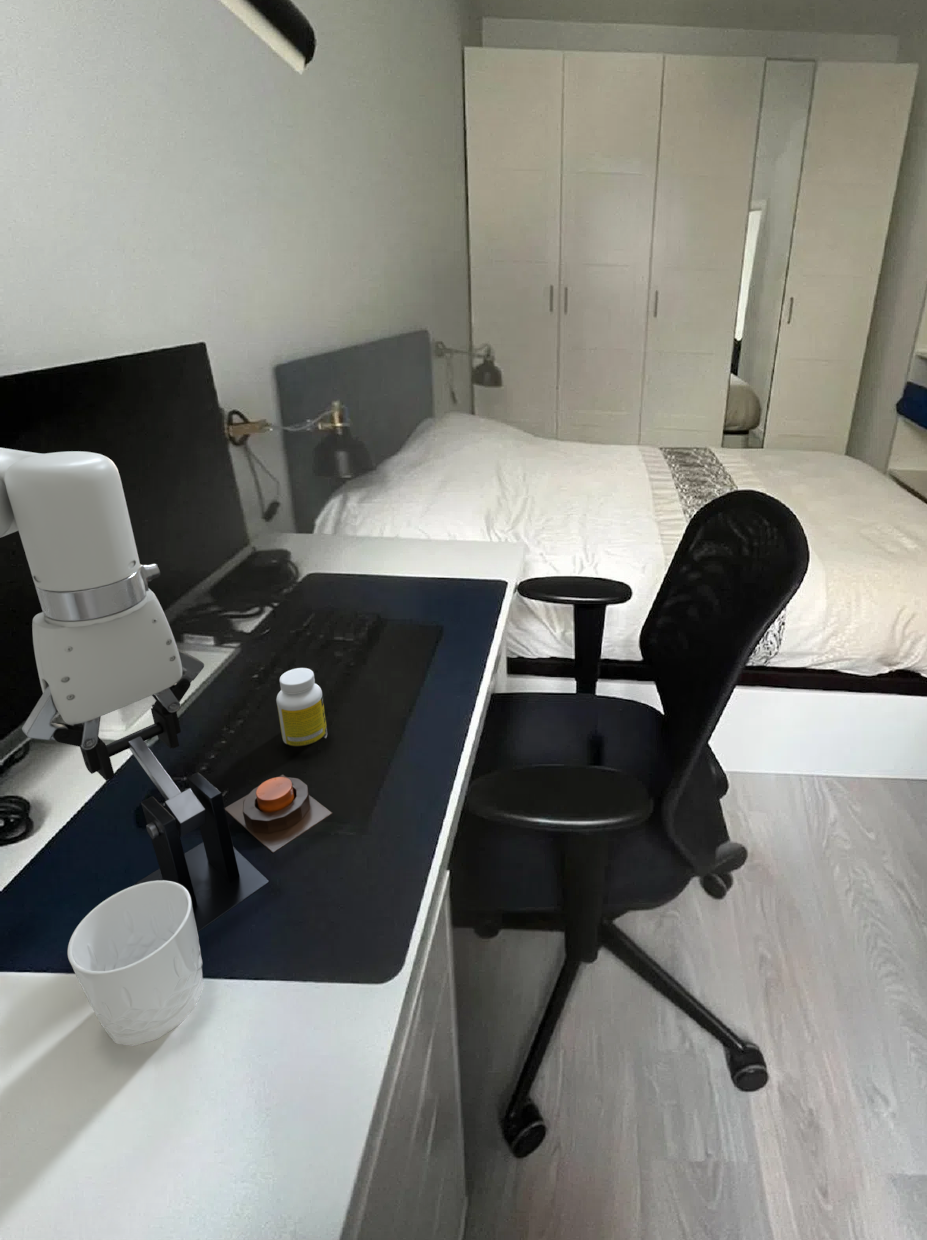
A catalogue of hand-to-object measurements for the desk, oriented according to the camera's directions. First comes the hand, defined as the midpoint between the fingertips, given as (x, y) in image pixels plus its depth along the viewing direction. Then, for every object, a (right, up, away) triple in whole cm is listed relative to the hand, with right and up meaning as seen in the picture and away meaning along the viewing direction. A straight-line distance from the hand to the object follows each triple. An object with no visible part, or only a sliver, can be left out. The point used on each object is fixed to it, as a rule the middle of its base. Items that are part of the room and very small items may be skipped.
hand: (137, 755), depth 64 cm
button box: (+10, -10, +8) cm, 16 cm away
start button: (+10, -7, +7) cm, 15 cm away
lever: (+4, -2, -2) cm, 5 cm away
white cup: (+9, -18, -11) cm, 23 cm away
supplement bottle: (+8, -5, +21) cm, 23 cm away
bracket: (+7, -13, -1) cm, 15 cm away
